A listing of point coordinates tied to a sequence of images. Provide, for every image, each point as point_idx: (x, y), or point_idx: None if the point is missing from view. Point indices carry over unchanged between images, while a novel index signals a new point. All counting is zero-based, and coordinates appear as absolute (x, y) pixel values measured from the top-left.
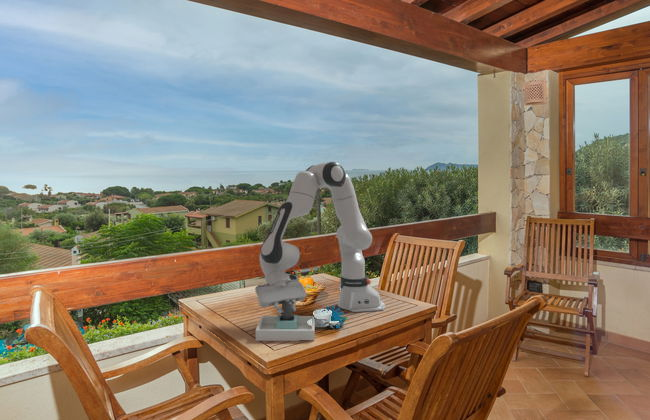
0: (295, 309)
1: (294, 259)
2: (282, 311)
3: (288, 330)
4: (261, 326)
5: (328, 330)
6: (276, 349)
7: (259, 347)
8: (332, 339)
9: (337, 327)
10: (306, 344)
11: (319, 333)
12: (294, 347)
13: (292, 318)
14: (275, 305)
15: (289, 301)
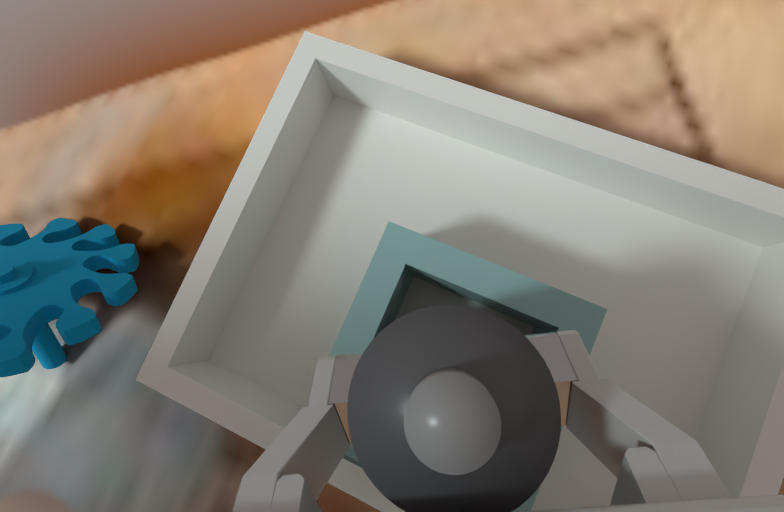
0: (327, 356)
1: None
2: (542, 336)
3: (521, 103)
4: (717, 438)
5: (151, 226)
6: (638, 32)
7: (763, 103)
8: (208, 68)
9: (73, 220)
10: (404, 47)
11: None
12: (501, 26)
13: None
14: (688, 448)
15: (387, 443)
